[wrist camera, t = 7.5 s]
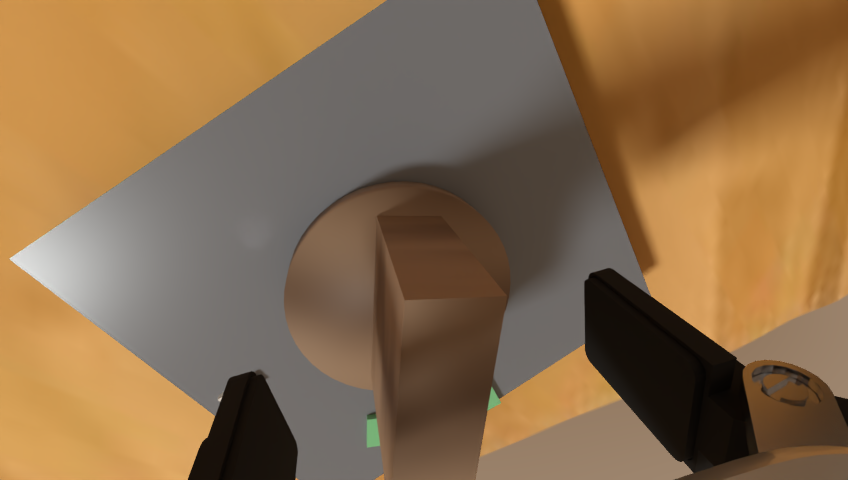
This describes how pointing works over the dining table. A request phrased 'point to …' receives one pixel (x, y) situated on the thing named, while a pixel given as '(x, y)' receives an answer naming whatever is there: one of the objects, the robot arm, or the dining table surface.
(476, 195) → the tuner plate
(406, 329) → the tuning knob
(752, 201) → the dining table surface
